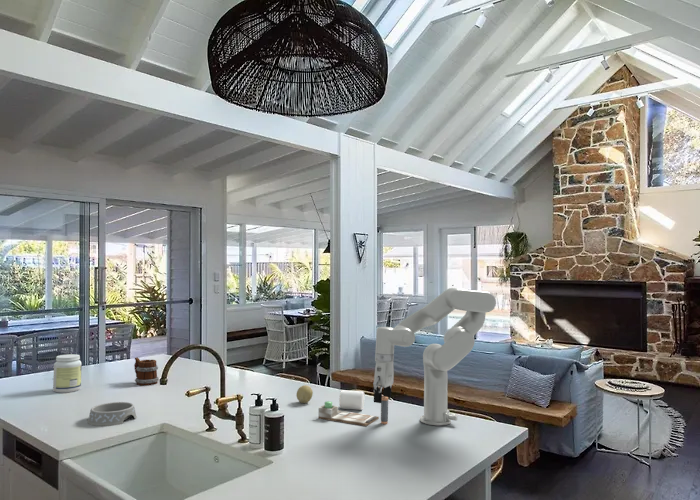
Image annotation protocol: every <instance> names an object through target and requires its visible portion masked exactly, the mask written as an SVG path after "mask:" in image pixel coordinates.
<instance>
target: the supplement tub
mask: <svg viewBox="0 0 700 500" xmlns="http://www.w3.org/2000/svg"><path fill="white" fill-rule="evenodd" d="M80 355H81V354H73V353H72V354H68V353H67V354H60V355H57V356H56V357H55V362H54V363H53V380H52V381H53V382H52V383H53V387H52V390H53V392H55V393H59V394H60V393H62V394H63V393H72V392H76V391H77V392H78V391H79V390H81V388H82V369H83V368H82V361H81V356H80Z"/></svg>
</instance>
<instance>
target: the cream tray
mask: <svg viewBox="0 0 700 500" xmlns="http://www.w3.org/2000/svg"><path fill="white" fill-rule="evenodd" d="M317 413H318V416H317V417H318V419H320V420H326V421H333V422H339V423H344V424H350V425H355V426H363V427H367V426H369V425H371V424H372V423H375V421H377V420H379V419H380V417H379V416H377V415H373V414H372V415H371V414H364V413H359V412H358V413H357V412H353V411H352V412H351V411H344V410H339V406H338V405H333V404H332V408H331V409H329V408H325V404H323V405H321V406H319V407H318V412H317Z"/></svg>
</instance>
